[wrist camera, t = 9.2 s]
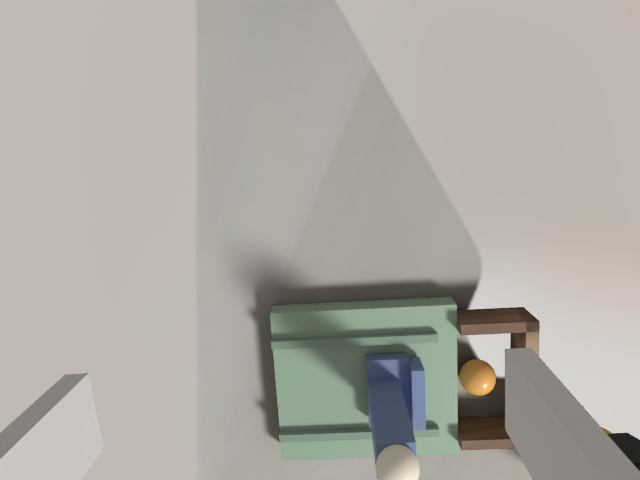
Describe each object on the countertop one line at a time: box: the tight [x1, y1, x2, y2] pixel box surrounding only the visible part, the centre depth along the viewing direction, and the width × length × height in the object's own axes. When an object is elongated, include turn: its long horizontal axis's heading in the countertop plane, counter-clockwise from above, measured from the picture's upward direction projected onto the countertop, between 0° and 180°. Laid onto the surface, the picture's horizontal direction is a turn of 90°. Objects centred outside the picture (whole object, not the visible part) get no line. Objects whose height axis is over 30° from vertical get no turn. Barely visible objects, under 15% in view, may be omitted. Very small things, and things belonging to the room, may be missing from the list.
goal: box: [457, 307, 539, 450], centre depth 49 cm, size 13×7×4 cm, turn 4°
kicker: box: [365, 352, 426, 480], centre depth 42 cm, size 7×5×14 cm
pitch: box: [270, 296, 458, 461], centre depth 50 cm, size 16×18×3 cm
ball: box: [459, 359, 496, 396], centre depth 49 cm, size 4×4×4 cm
